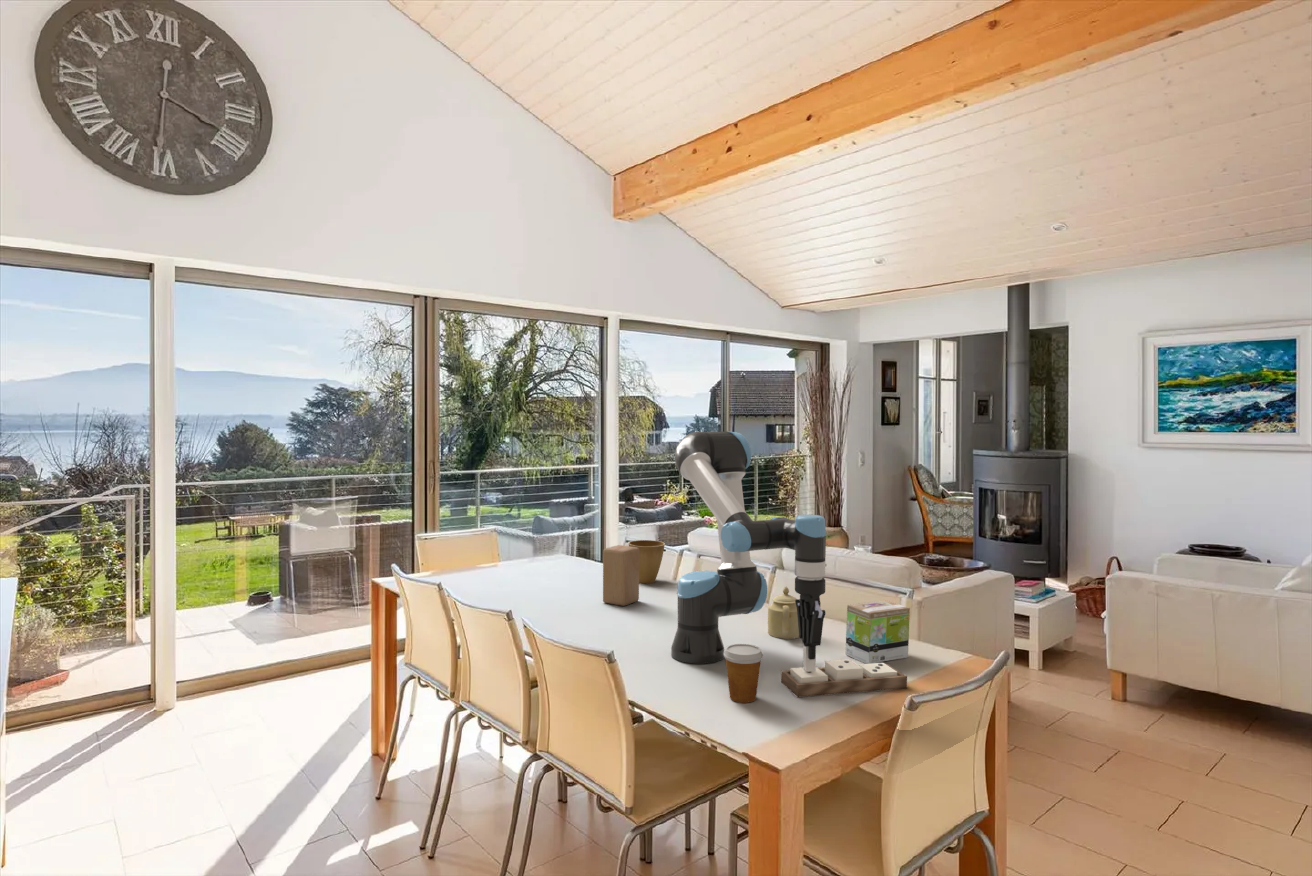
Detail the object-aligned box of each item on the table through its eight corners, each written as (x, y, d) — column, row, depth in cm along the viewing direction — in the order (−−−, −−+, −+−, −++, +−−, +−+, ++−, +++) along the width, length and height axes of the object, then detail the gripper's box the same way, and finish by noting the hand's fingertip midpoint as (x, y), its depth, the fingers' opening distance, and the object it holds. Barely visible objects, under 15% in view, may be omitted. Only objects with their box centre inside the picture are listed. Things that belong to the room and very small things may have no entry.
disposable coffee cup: (766, 705, 176) (767, 655, 176) (726, 706, 175) (727, 655, 175) (757, 690, 186) (758, 642, 185) (720, 691, 185) (720, 643, 184)
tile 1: (801, 690, 183) (801, 677, 183) (790, 680, 190) (790, 667, 190) (827, 688, 185) (827, 675, 185) (815, 678, 192) (815, 665, 191)
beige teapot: (816, 641, 227) (816, 592, 226) (783, 644, 223) (783, 594, 223) (793, 627, 241) (793, 581, 240) (761, 630, 238) (762, 583, 237)
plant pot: (624, 584, 300) (625, 545, 299) (632, 577, 314) (632, 539, 314) (661, 586, 297) (661, 546, 297) (666, 578, 312) (667, 540, 312)
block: (639, 601, 274) (640, 547, 273) (624, 607, 265) (624, 551, 265) (617, 597, 279) (618, 544, 278) (601, 603, 271) (602, 548, 270)
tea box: (869, 666, 204) (870, 612, 204) (844, 655, 213) (845, 604, 213) (909, 658, 211) (910, 606, 211) (883, 648, 220) (884, 598, 220)
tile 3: (871, 686, 187) (872, 672, 187) (858, 676, 194) (858, 663, 194) (897, 684, 189) (897, 671, 189) (882, 674, 196) (883, 662, 196)
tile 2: (837, 683, 185) (837, 669, 185) (824, 673, 192) (824, 660, 192) (862, 681, 187) (863, 667, 187) (849, 671, 194) (849, 658, 193)
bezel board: (797, 697, 181) (797, 685, 181) (781, 682, 191) (781, 670, 191) (906, 688, 188) (907, 676, 187) (885, 674, 198) (885, 663, 198)
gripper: (835, 582, 181) (835, 678, 182) (813, 571, 194) (812, 661, 194) (807, 583, 179) (806, 680, 180) (785, 572, 192) (785, 663, 193)
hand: (809, 670), depth 187 cm, fingers closed
